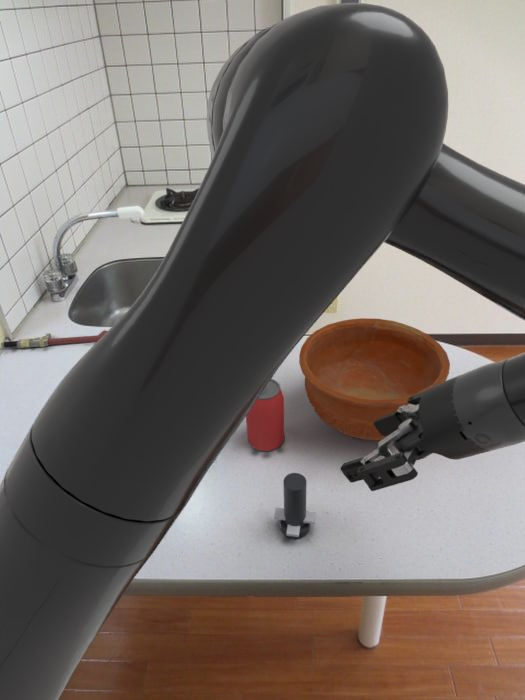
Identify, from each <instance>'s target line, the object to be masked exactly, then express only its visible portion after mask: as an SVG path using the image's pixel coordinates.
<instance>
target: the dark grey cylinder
mask: <svg viewBox="0 0 525 700" xmlns="http://www.w3.org/2000/svg"><path fill="white" fill-rule="evenodd" d="M274 511H275V512H274V515H273V519H274V520H277V521H280V525H279V526H280V531H281V533H282V534H283V535H284V536H285V538H288V539H290V540H300V539H303V538H305V537H307V535H308V534H309V532H310V530H311V525H315V524H316V519H317V518H316V517H317V512H316V511H309V510H307V479H306V477H305V475H303V474H302V473H299V472H291V473H288V474H287V475H285V477H284V478H283V507H275V510H274Z"/></svg>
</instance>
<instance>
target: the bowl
mask: <svg viewBox="0 0 525 700" xmlns="http://www.w3.org/2000/svg"><path fill="white" fill-rule="evenodd" d="M298 357H299V358H298V360H299V361H298V362H299V363H298V364H299V367H300V371H301V373H302V374H303V376H304V389H305V394H306V396H307V399H308V401H309V404H310V405H311V407H312V408H313V409H314V412H315V413H316V414H317V416H318V417H319V418H320V420H322V421H323V422H324V423H325V424H326V425H328V426H329V427H331V428H333V429H334V430H336V431H339V432H340V433H341V434H344V435H346V436H348V437H352V438H356V439H361V440H366V441H381V440H382V439H384V438H385V437H387V436H382V435H381V434H380V433H379V431H378V430H377V429H376V427H375V426H374V422H375V421H376V419H378V418H380V417H383V416H386V415H388V414H391V413H393V412H396V411H397V410H398V408H399V407H400V406H403V405H408V404H409V403H408V402H407V400H408V398H409V397H410V396H413V395H415V394H418V393H421V392H424V391H426V390H427V389H428V388H430V387H432V386H435V385H437V384H440V383H442V382H445V381H447V380H448V377H449V374H450V370H451V362H450V359H449V356H448V353H447V351H446V350H445V348H444V347H443V346H442V345H441V344H440V343H439V342H438V341H437V340H436V339H434V338H433V337H431V335H429V334H428V333H426V332H424V331H422V330H420V329H418V328H415V327H413V326H411V325H409V324H406V323H402V322H398V321H395V320H390V319H383V318H365V317H363V318H362V317H361V318H360V317H359V318H351V319H345V320H340V321H335V322H333V323H328V324H326V325H324V326H322V327H321V328H318V329H317V330H315V331H314V332H313V333H311V334H310V335H309V336H308V337H307V338H306V339H305V341H304V343H303V344H302V345H301V347H300V351H299V356H298Z"/></svg>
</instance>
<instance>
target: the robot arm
mask: <svg viewBox="0 0 525 700" xmlns="http://www.w3.org/2000/svg"><path fill="white" fill-rule="evenodd" d="M214 79H215V80H214V81H213V83H212V86H211V89H210V91H209V96H208V100H207V110H206V111H207V112H206V117H205V119H206V130H207V140H208V143H209V147H210V151H211V155H212V158H211V161H210V163H209V166H208V167H207V170H206V173H205V174H204V177H203V179H202V181H201V184H200V186H199V187H198V190H197V192H196V194H195V197H194V198H193V200H192V203H191V205H190V206H189V208H188V211H187V213H186V214H185V217H184V218H183V220H182V222H181V225H180V227H179V228H178V230H177V232H176V235H175V236H174V238H173V241H172V242H171V245H170V246H169V248H168V250H167V252H166V254H165V256H164V257H163V259H162V260H161V262H160V264H159V266H158V268H157V269H156V271H155V273H154V275H153V276H152V278H151V279H150V281H149V282H148V284H147V285H146V286H145V288H144V289H143V290H142V292H141V294H140V295H139V296H138V298H136V299H135V301H134V302H133V304H132V305H131V306H130V307H129V309H128V310H127V311H126V312H125V313H123V315H122V316H121V317H120V318H119V319H118V320H117V321H116V322H115V323H114V324H113V325H112V326H111V327H110V328H109V330H106V331H107V332H106V333H105V334H104V335H103V336H102V337H101V338H100V339H99V340H98V341H96V342H94V344H93V346H91V347H90V349H88V351H86V352H85V353H84V354H83V355H82V356H81V357H80V359H78V361H77V362H75V364H74V365H73V366H72V367H71V369H69V371H68V372H67V374H66V375H65V376H64V377H63V378H62V379H61V380H60V382H59V384H58V385H57V386H56V388H55V389H54V390H53V392H52V393H51V394H50V396H49V397H48V399H47V400H46V402H45V403H44V405H42V407H41V410H40V411H39V413H38V414H37V416H36V418H35V420H34V422H33V423H32V425H31V427H30V428H29V430H28V432H27V434H26V435H25V437H24V439H23V441H22V443H21V444H20V445H19V448H18V450H17V451H16V453H15V455H14V457H13V458H12V460H11V462H10V464H9V466H8V468H6V469H7V470H6V471H5V473H4V475H3V478H2V480H1V482H0V700H59V699H60V697H61V695H62V694H63V691H64V690H65V688H66V686H67V685H68V682H69V681H70V679H71V677H72V675H73V673H74V671H75V670H76V668H77V667H78V665H79V663H80V661H82V658H83V657H84V656H85V654H86V652H87V650H89V648H90V647H91V645H92V643H93V641H94V640H95V638H96V637H97V635H98V634H99V633H100V631H101V629H102V627H103V626H104V624H106V621H107V620H108V619H109V617H110V616H111V614H112V612H113V611H114V609H115V607H116V606H117V604H118V602H119V601H120V600H121V598H122V596H123V595H124V593H125V592H126V590H127V589H128V587H129V586H130V584H131V583H132V581H133V580H134V579H135V577H136V576H137V574H138V573H139V572H140V571H141V570H142V568H143V567H144V566H145V564H146V563H147V562H148V561H149V558H151V556H153V554H154V552H155V551H156V550H157V548H158V547H159V545H160V544H161V543H162V541H163V540H164V538H165V537H166V535H167V534H168V532H169V531H170V529H171V528H172V526H173V525H174V524H175V522H176V521H177V519H178V518H179V517H180V515H181V514H182V512H183V511H184V509H185V507H186V506H187V505H188V503H189V502H190V500H191V498H192V497H193V496H194V494H195V492H196V490H197V489H198V487H199V486H200V484H201V482H202V481H203V478H204V477H205V476H206V474H207V473H208V471H209V469H210V468H211V466H212V465H213V464H214V463H215V461H216V459H217V458H218V456H219V455H220V454H221V452H222V450H223V449H224V448H225V447H226V445H227V444H228V443H229V441H230V439H231V438H232V437H233V435H234V434H235V433H236V431H237V430H238V428H239V427H240V426H241V424H242V422H244V419H246V415H247V414H248V412H249V411H250V410H251V408H252V407H253V405H254V404H255V402H256V401H257V399H258V398H259V396H260V394H261V393H262V391H263V390H264V388H265V387H266V385H267V384H268V382H269V381H270V380H271V379H273V377H274V375H275V374H276V372H277V370H279V368H280V367H281V366H282V364H283V363H284V362H285V360H286V359H287V357H289V355H290V354H291V352H293V350H294V349H295V347H296V346H297V345H298V344H299V342H300V341H301V340H302V339H303V338H304V337H305V335H306V334H307V333H308V332H309V330H310V329H311V328H312V327H313V326H314V325H315V323H316V322H317V321H318V320H319V319H320V317H321V316H322V315H324V313H325V312H326V310H327V309H328V308H329V307H330V306H331V305H332V304H333V302H335V300H336V299H337V298H338V297H339V295H340V294H342V292H343V291H344V290H345V288H347V286H348V285H349V284H350V283H351V282H352V280H353V279H354V278H355V277H356V276H357V274H359V272H361V270H362V269H363V267H364V266H366V264H367V263H368V262H369V260H371V258H372V257H373V256H374V255H375V253H376V252H377V251H378V250H379V249H380V248H381V247H382V245H383V244H387V245H390V246H392V247H393V248H395V249H398V250H399V251H401V252H404V253H406V254H408V255H410V256H412V257H414V258H416V259H417V260H420V261H422V262H424V263H426V264H427V265H429V266H431V267H433V268H435V269H436V270H438V271H440V272H442V273H443V274H445V275H447V276H449V277H450V278H451V279H453V280H454V281H457V282H458V283H460V284H462V285H464V286H466V287H467V288H469V289H470V290H472V291H474V292H475V293H477V294H478V295H480V296H482V297H483V298H484V299H487V300H488V301H490V302H491V303H493V304H494V305H497V306H498V307H500V308H502V309H503V310H504V311H507V312H508V313H510V314H512V315H514V316H515V317H517V318H519V319H520V320H522V321H524V322H525V184H524V183H522V182H520V181H518V180H515V179H513V178H510V177H508V176H506V175H504V174H502V173H499V172H497V171H495V170H493V169H490V168H489V167H487V166H485V165H483V164H481V163H479V162H476V161H475V160H474V159H471V158H470V157H468V156H466V155H464V154H462V153H461V152H459V151H457V150H455V149H453V148H452V147H450V146H449V145H447V144H446V143H444V140H445V136H446V131H447V125H448V119H449V118H448V117H449V88H448V82H447V76H446V71H445V67H444V64H443V61H442V59H441V57H440V55H439V52H438V49H437V48H436V45H435V43H434V42H433V41H432V39H431V38H430V36H429V35H428V34H427V32H425V30H424V29H423V28H422V27H420V25H418V24H417V23H416V22H415V21H414V20H412V19H411V18H410V17H408V16H406V15H405V14H403V13H401V12H399V11H398V10H395V9H393V8H389V7H386V6H382V5H378V4H371V3H364V2H342V3H333V4H326V5H318V6H315V7H313V8H312V7H311V8H309V9H306V10H303V11H300V12H298V13H295V14H292V15H290V16H287V17H286V18H283V19H281V20H280V21H278V22H275V23H274V24H272V25H270V26H268V27H265V28H264V29H262V30H260V31H259V32H257V33H255V34H253V35H252V36H251V37H250V38H249V39H248V40H246V41H245V42H244V43H243V44H241V45H240V46H239V47H238V48H236V49H235V50H234V51H233V52H232V53H231V55H230V56H229V57H228V59H227V60H226V61H225V62H224V64H222V66H221V68H220V70H219V72H218V74H217V75H216V77H215V78H214ZM407 402H408V403H409V404H408V405H403V406H400V407H399V408H398V410H397V411H396V412H393V413H391V414H388V415H386V416H383V417H380V418H378V419H376V421H375V422H374V426H375V427H376V429H377V430H378V431H379V433H380V434H381V435H382V436H387V437H385V438H384V439H382V440H378V442H377V448H375V449H374V450H373V451H372V452H370V453H368V454H367V455H365V456H361V457H359V458H355V459H352V460H348V461H346V462H344V463H343V464H341V466H340V471H341V473H342V474H343V475H344V477H345V478H346V479H347V481H348V482H349V483H356V482H359V481H364V483H365V484H366V485H367V487H368V489H369V490H370V491H371V492H374V491H375V492H376V491H378V490H382V489H385V488H389V487H393V486H396V485H399V484H404V483H406V482H410V481H412V480H414V479H416V478H417V476H418V475H419V472H418V471H417V469H416V468H415V464H416V462H417V461H421V460H424V459H426V458H427V457H428V456H430V455H432V454H435V455H439V456H442V457H444V458H447V459H450V460H454V461H455V460H462V459H466V458H470V457H473V456H477V455H481V454H484V453H485V454H486V453H489V452H493V451H497V450H500V449H503V448H507V447H511V446H515V445H517V444H522V443H524V442H525V351H524V352H522V353H519V354H516V355H515V356H512V357H509V358H506V359H502V360H500V361H494V362H491V363H488V364H485V365H481V366H479V367H477V368H474V369H472V370H469V371H467V372H465V373H461V374H459V375H457V376H455V377H452V378H450V379H446V381H445V382H442V383H440V384H437V385H435V386H432V387H430V388H428V389H427V390H426V391H424V392H421V393H418V394H415V395H413V396H410V397H409V398H408V400H407ZM390 445H393V446H394V448H395V449H396V450H397V452H398V453H397V452H392V451H391V450H390V449H389V446H390ZM380 457H383V458H380ZM379 458H380V459H379Z"/></svg>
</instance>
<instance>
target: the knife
mask: <svg viewBox="0 0 525 700" xmlns="http://www.w3.org/2000/svg"><path fill="white" fill-rule="evenodd" d="M107 331H108V330H105V329H104V330H102V331H101V332H100V333H98V334H97V335H85V336H84V335H82V336H69V337H56V338H55V337H54V338H52V334H51V332H46V334H45V335H43V336H37V337H34V338H21V339H18V340H9V341H4V342H1V343H0V346H1V348H6V349H7V348H17V349H25V348H37V347H38V348H39V347H40V348H45V347H49V346H50V345H51V346H52V345H65V344H67V345H68V344H78V343H80V344H81V343H96V342H97V341H98V340H99V339H100V338H101V337H102V336H103V335H104V334H105V333H106V332H107Z"/></svg>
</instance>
